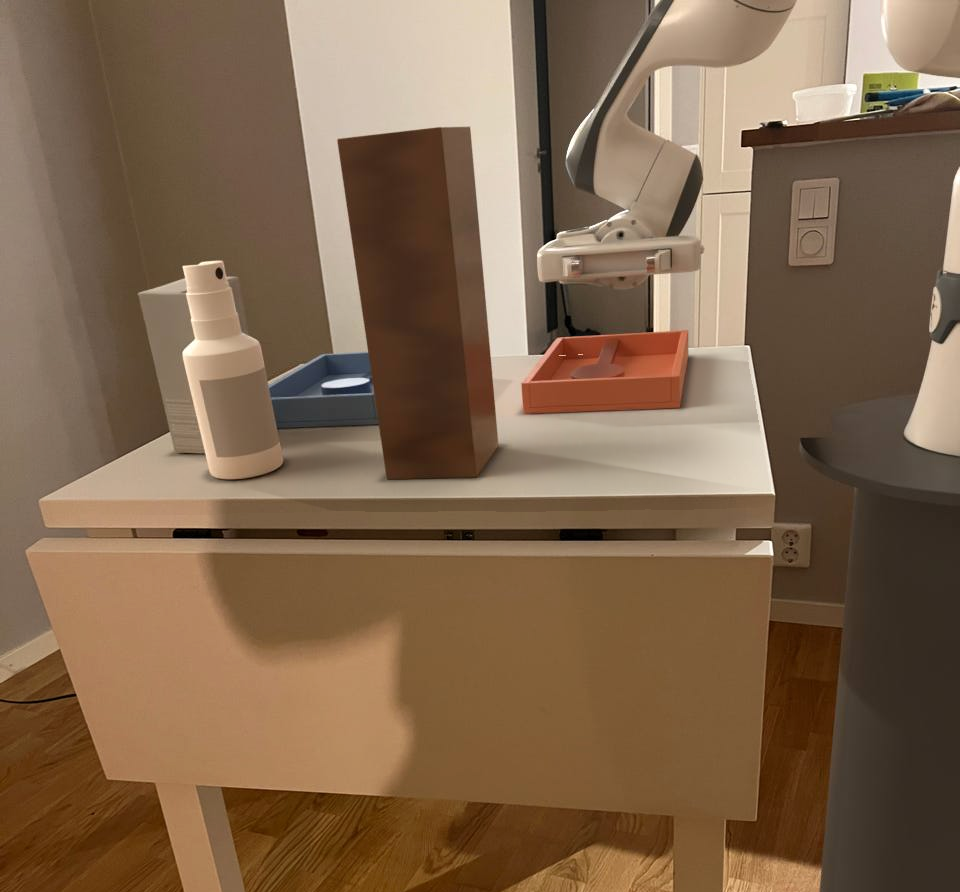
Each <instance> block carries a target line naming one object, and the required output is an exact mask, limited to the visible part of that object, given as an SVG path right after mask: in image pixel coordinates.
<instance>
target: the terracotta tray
mask: <svg viewBox="0 0 960 892" xmlns="http://www.w3.org/2000/svg"><path fill="white" fill-rule="evenodd" d="M609 339H619V348H618V351H617V354H616V356H615V359H614V362H613V364H616V365H620V366H622V367H623V368H624V370H625V377H612V378H591V379H572V378H571V373H572V372H573V371H574V370H575V369H577V368H580V367H583V366H587V365H593V364H597V361H598V359H599V356H600V354H601V351H602V349H603V346H604V344H605V341H606V340H609ZM578 354H583V355H578ZM559 355H566V356H559ZM688 359H689V330H688V329H685V330H667V331H651V332H634V333H631V332H630V333H615V334H614V333H613V334H599V335H598V334H597V335H596V334H595V335H581V336H580V335H578V336H565V337H557V338H556V339H554V341H553V342H552V343H551V345H550V346H549V347H548V349H547V350H546V351H545V353H544V354H543V355H542V357H541V358H540V359H539V360H538V362H537V363H536V364H535V365H534V367H533V368H532V369H531V370H530V372H529V373H528V374H527V376H526V377H525V378H524V379H523V381H522V382H521V383H520V385H521V387H520V388H521V398H522V399H521V400H522V411H523V412H522V413H523V414H524V415H528V414H530V415H531V414H554V413H555V414H557V413H580V412H582V413H583V412H605V411H606V412H607V411H608V412H609V411H631V410H660V409H661V410H662V409H679V408H680V407H681V401H682V395H683V390H684V384H685V380H686V373H687V367H688V362H689V361H688Z"/></svg>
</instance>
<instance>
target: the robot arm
mask: <svg viewBox="0 0 960 892" xmlns="http://www.w3.org/2000/svg"><path fill="white" fill-rule="evenodd" d="M797 1H798V0H659V1H658V2H657V4H656V5H655V6H654V7H653V9H652V10H651V12H649V15H648V16H647V18H646V20H645V21H644V23H643V25H642V27H641V28H640V30H639V31H638V33H637V34H636V35H635V37H634V39H633V40H632V42H631V44H630V45H629V46H628V49H627V50H626V53H625V54H624V56H623V57H622V59H621V61H620V62H619V64H618V66H617V67H616V69H615V71H614V73H613V74H612V76H611V78H610V80H609V81H608V83H607V85H606V86H605V89H604V90H603V92H602V95H601V96H600V98H599V100H598V101H597V103H596V105H595V106H594V108H593V109H592V110H591V111H590V112H589V114H588V115H587V116H586V117H585V119H584V120H583V121H582V122H581V123H580V125H579V126H578V128H577V129H576V131H575V133H574V135H573V136H572V138H571V140H570V143H569V145H568V148H567V152H566V158H565V167H566V170H567V173H568V175H569V178H570V180H571V182H572V184H573V186H574V188H575V189H577V190H580V191H582V192H585V193H588V194H590V195H593V196H595V197H600V198H602V199H604V200H606V201H608V202H610V203H612V204H614V205H616V206H618V207H620V208H622V209H624V211H620V212H619V213H617V214H615V215H613V216H612V217H610V218H609V219H608V220H607V219H606V220H603V221H601V222H599V223H596V224H594V225H591V226H585V227H580V228H575V229H569V230H565V231H559V232H558V233H557V234H556V239H554V240H551V241H549V242H547V243H546V244H545V245H543V246H542V247H541V248H539V250H538V251H537V254H536V267H537V278H538V281H539V282H540V283H553V282H559V284H561V285H586V286H588V285H590V286H596V287H602V288H609V289H612V290H617V291H627V290H631V289H633V288H635V287H638V286H639V285H641V284H642V283H644V282H645V281H646V280H647V279H648V277H649V276H653V275H668V274H682V273H692V272H697V271H699V270H700V269H701V257H702V256H701V255H703V254H704V252H705V246H704V245H703V244H701V239H699V237H697V236H695V235H680V234H681V233H682V231H683V230H684V228H685V227H686V224H687V222H688V221H689V219H690V217H691V215H692V212H693V211H694V208H695V206H696V203H697V201H698V198H699V195H700V192H701V189H702V187H703V182H704V174H703V173H704V172H703V167H702V163H701V160H700V157H699V156H698V154H696V153H694V152H692V151H691V150H689V149H687V148H685V147H683V146H681V145H679V144H677V143H675V142H674V141H671V140H669V139H666V138H663V137H662V136H660V135H657V134H656V133H654V132H652V131H650V130H649V129H646V128H644V127H642V126H640V125H638V124H636V123H634V122H633V121H632V120H631V119H630V118H629V117H628V114H627V113H628V112H629V110H630V109H631V107H632V105H633V104H634V102H635V100H636V99H637V97H638V95H639V94H640V92H641V91H642V89H643V87H644V86H645V85H646V83H647V82H648V80H649V78H650V76H651V75H652V74H653V73H655V72H656V71H658V70H660V69H664V68H669V67H677V66H678V67H681V66H684V67H685V66H688V67H689V66H690V67H691V66H692V67H702V68H710V69H712V68H713V69H725V68H732V67H736V66H739V65H743V64H746V63H747V62H750V61H752V60H754V59H756V58H757V57H759V56H760V55H762V54H763V53H764V52H766V51H767V50H768V49H769V48H770V47H771V46H772V45H773V43H774V41H775V40H776V38H777V37H778V36H779V34H780V32H781V31H782V29H783V27H784V25H785V24H786V22H787V21H788V19H789V17H790V16H791V13H792V11H793V9H794V8H795V6H796V4H797ZM879 14H880V27H881V31H882V37H883V39H884V42H885V45H886V47H887V49H888V52H889V54H890V55H891V57H892V58H893V61H894V62H895V63H896V64H897V65H898V66H899V67H900V68H901V69H903V70H905V71H906V72H907V71H908V72H912V73H917V74H918V73H919V74H924V75H929V76H936V77H944V78H952V79H953V78H954V79H960V0H880V13H879ZM928 330H929V337H930V339H931V343H930V349H929V352H928V356H927V357H928V358H927V362H926V366H925V369H924V370H925V371H924V374H923V379H922V381H921V384H920V388H919V392H918V394H919V395H918V398H917V401H916V403H915V406H914V409H913V412H912V414H911V417H910V419H909V421H908V424H907V426H906V428H905V430H904V436H905V438H906V439H907V440H908V441H910V442H911V443H913V444H915V445H917V446H920V447H922V448H925V449H928V450H931V451H935V452H939V453H944V454H949V455H954V456H960V166H959V167H958V169H957V170H956V173H955V176H954V179H953V182H952V189H951V199H950V208H949V216H948V224H947V232H946V240H945V249H944V258H943V266H942V267H941V268H940V269H939V270H937V273H936V279H935V285H934V287H933V289H932V298H931V305H930V314H929V326H928Z"/></svg>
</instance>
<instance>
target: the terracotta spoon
mask: <svg viewBox="0 0 960 892" xmlns="http://www.w3.org/2000/svg"><path fill="white" fill-rule="evenodd" d="M618 348H619V339H609V340H606V341H605V344H604V346H603V349H602V351H601V354H600V356H599V359H598V361H597V364H593V365H587V366H583V367H580V368H577V369H575V370H574V371H573V372H572V373H571V378H572V379H591V378H612V377H625V370H624V368H623V367H622V366H620V365H616V364H613V362H614V359H615V356H616V354H617V351H618Z"/></svg>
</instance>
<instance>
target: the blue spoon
mask: <svg viewBox="0 0 960 892" xmlns="http://www.w3.org/2000/svg"><path fill="white" fill-rule="evenodd" d="M371 383H372V375H371V372H369V373H367V374H366V375H364V376H362V377H360V378H347V379H339V380H334V381H330V382H326V383H324V384H322V385H321V390H322V395H342V394H364V393H371V385H370V384H371Z"/></svg>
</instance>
